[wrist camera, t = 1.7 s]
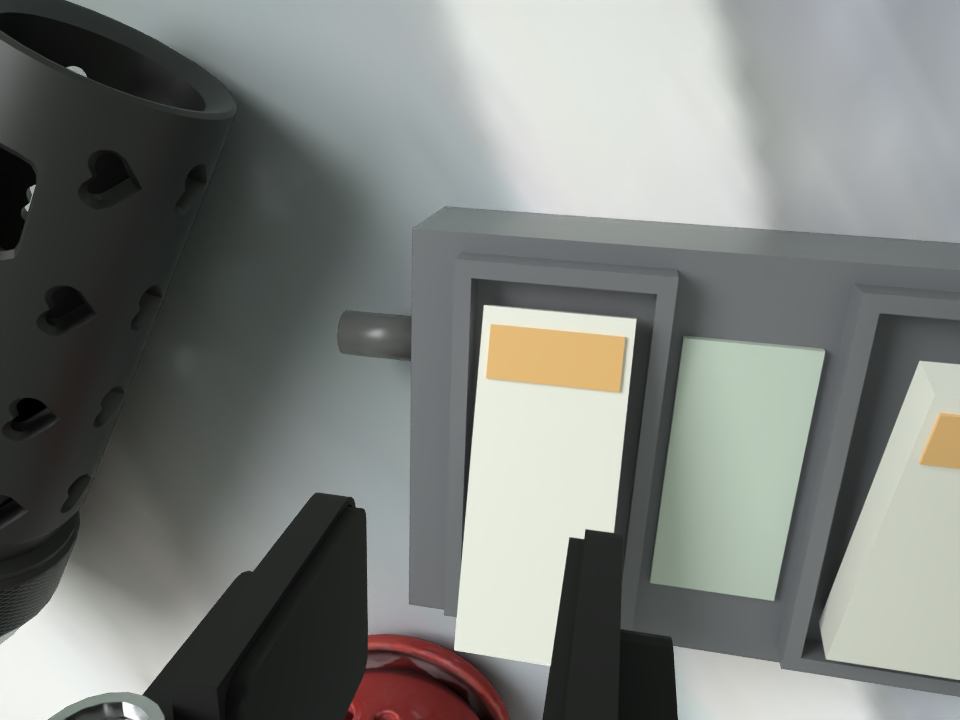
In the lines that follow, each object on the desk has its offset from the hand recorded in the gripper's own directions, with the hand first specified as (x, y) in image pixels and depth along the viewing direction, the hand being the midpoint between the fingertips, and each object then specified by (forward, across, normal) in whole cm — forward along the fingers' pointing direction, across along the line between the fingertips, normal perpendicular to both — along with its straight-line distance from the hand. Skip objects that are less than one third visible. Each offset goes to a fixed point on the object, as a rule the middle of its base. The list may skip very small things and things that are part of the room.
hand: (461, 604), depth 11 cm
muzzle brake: (+23, +22, +5) cm, 32 cm away
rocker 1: (+15, 0, +6) cm, 16 cm away
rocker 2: (+15, -13, +6) cm, 20 cm away
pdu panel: (+22, -5, +6) cm, 23 cm away
